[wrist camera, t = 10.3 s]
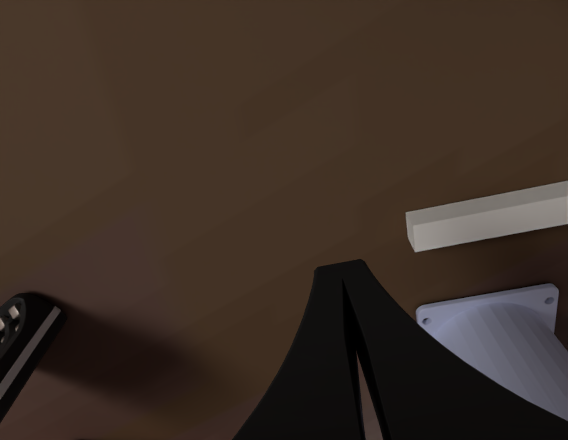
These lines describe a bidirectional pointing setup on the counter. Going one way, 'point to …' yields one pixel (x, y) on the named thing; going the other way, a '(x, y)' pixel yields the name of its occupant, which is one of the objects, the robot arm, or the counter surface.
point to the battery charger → (24, 342)
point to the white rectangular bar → (488, 217)
